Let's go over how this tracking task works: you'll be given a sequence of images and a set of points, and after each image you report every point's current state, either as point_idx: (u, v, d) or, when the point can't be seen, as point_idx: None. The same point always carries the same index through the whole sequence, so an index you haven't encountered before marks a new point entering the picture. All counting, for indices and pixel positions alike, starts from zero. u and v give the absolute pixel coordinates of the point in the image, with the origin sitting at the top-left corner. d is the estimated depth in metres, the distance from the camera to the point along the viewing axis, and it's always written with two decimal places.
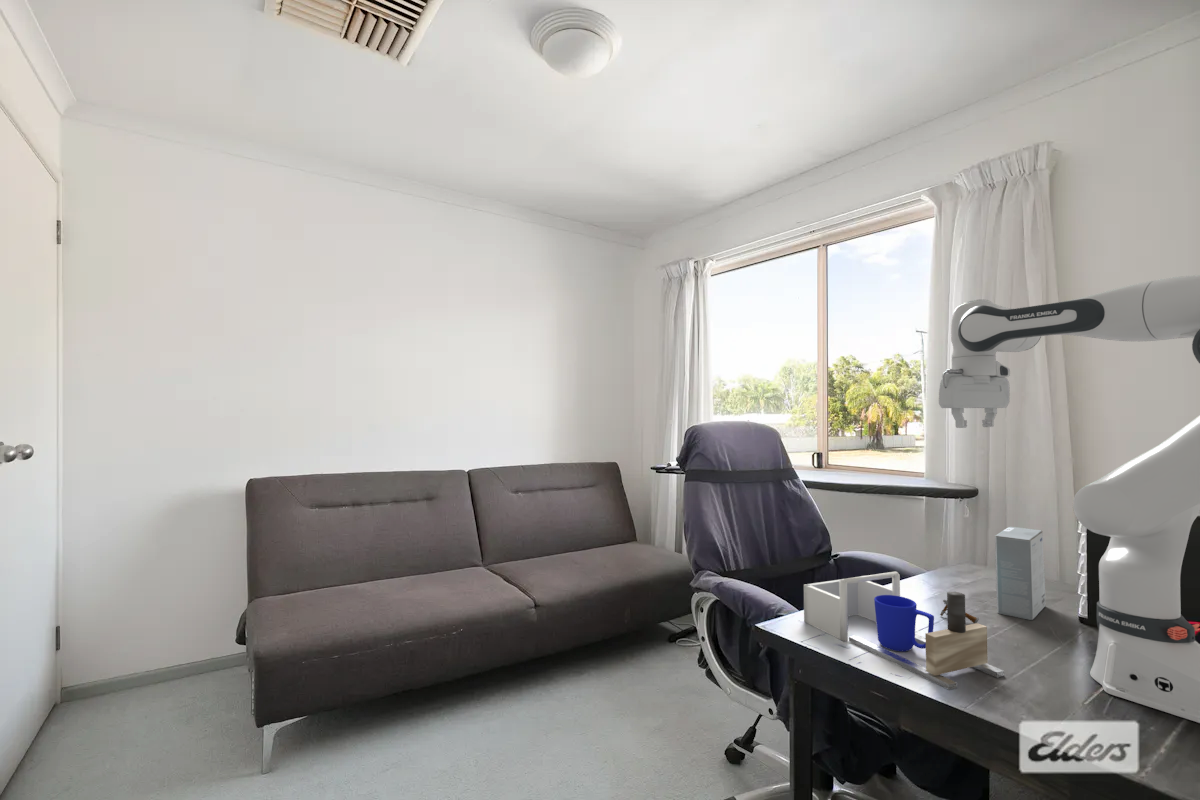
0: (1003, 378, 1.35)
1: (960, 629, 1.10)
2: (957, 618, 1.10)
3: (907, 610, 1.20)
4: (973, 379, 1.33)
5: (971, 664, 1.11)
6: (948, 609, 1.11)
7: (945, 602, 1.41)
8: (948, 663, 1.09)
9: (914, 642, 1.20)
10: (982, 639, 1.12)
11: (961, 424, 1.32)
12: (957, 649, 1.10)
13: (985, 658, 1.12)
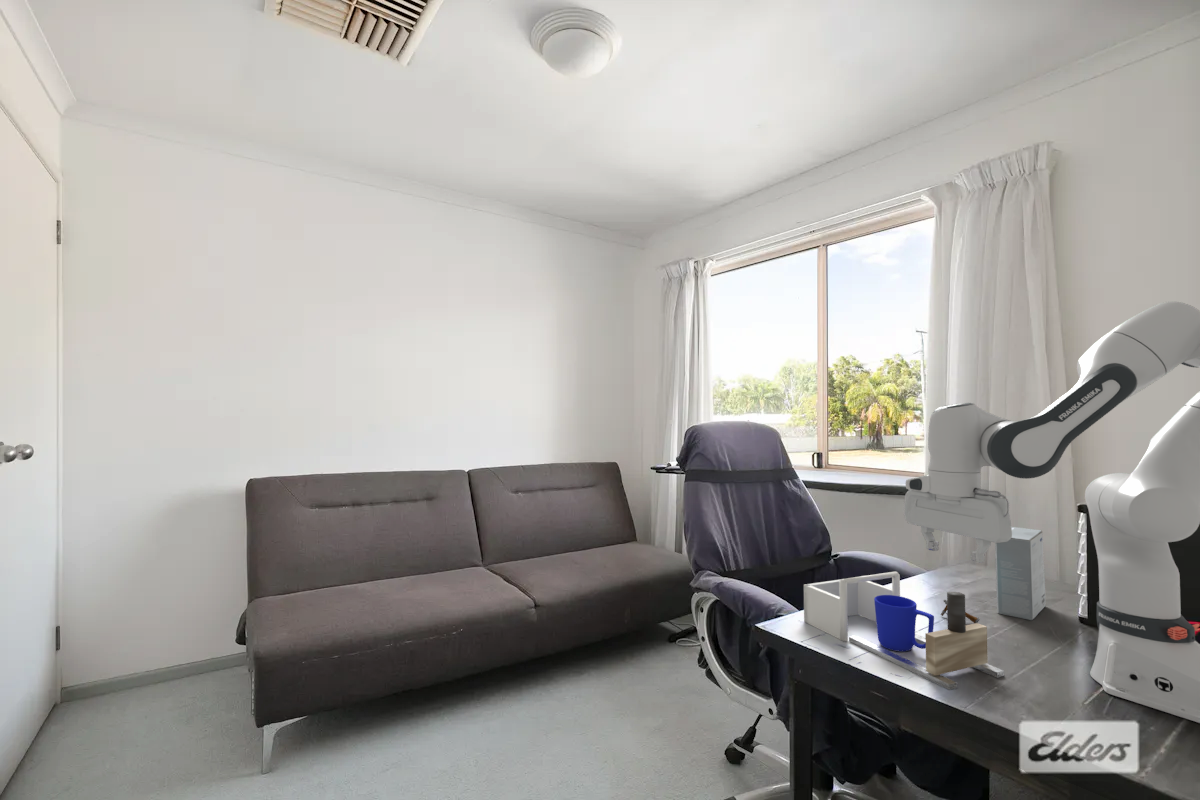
0: None
1: (960, 629, 1.10)
2: (957, 618, 1.10)
3: (907, 610, 1.20)
4: None
5: (971, 664, 1.11)
6: (948, 609, 1.11)
7: (946, 602, 1.41)
8: (948, 663, 1.09)
9: (914, 642, 1.20)
10: (982, 639, 1.12)
11: (983, 558, 1.07)
12: (957, 649, 1.10)
13: (985, 658, 1.12)
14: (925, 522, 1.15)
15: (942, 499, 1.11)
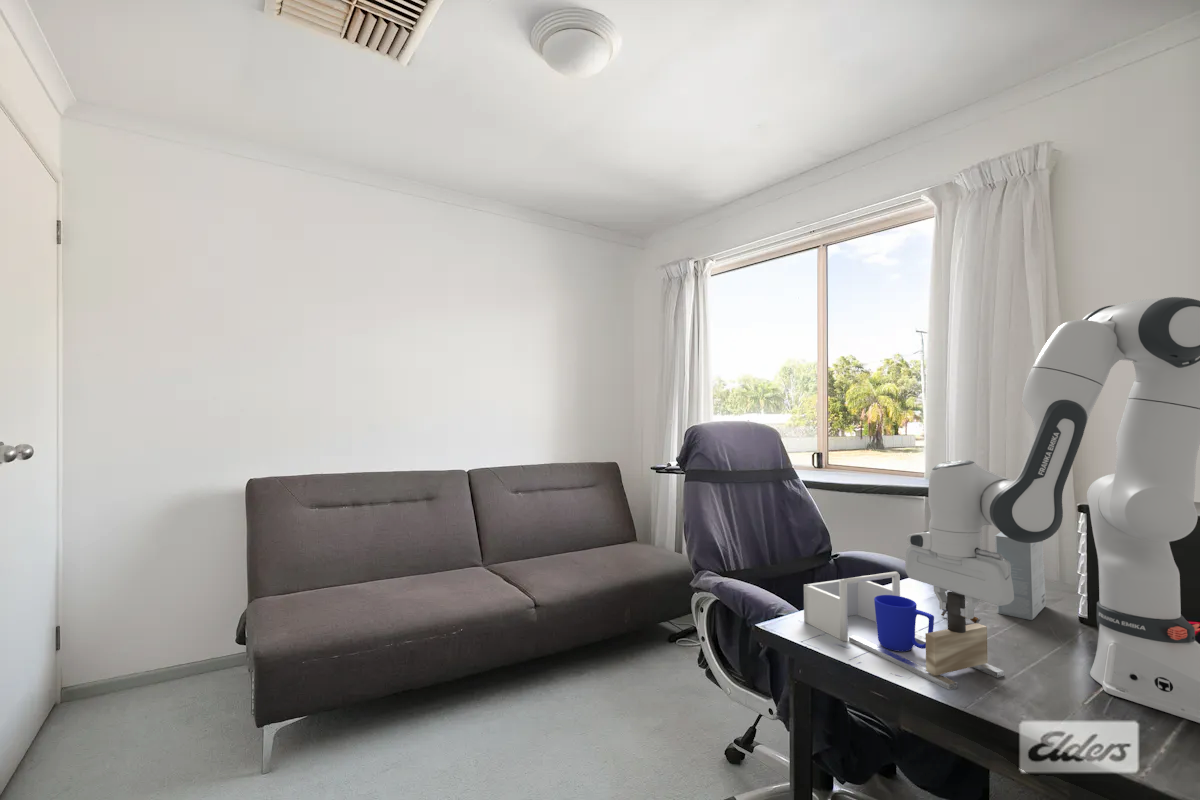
0: None
1: (960, 629, 1.10)
2: (957, 618, 1.10)
3: (907, 610, 1.20)
4: None
5: (971, 664, 1.11)
6: (948, 609, 1.11)
7: None
8: (948, 663, 1.09)
9: (914, 642, 1.20)
10: (982, 639, 1.12)
11: (973, 614, 1.09)
12: (957, 649, 1.10)
13: (985, 658, 1.12)
14: (927, 579, 1.15)
15: (943, 558, 1.10)
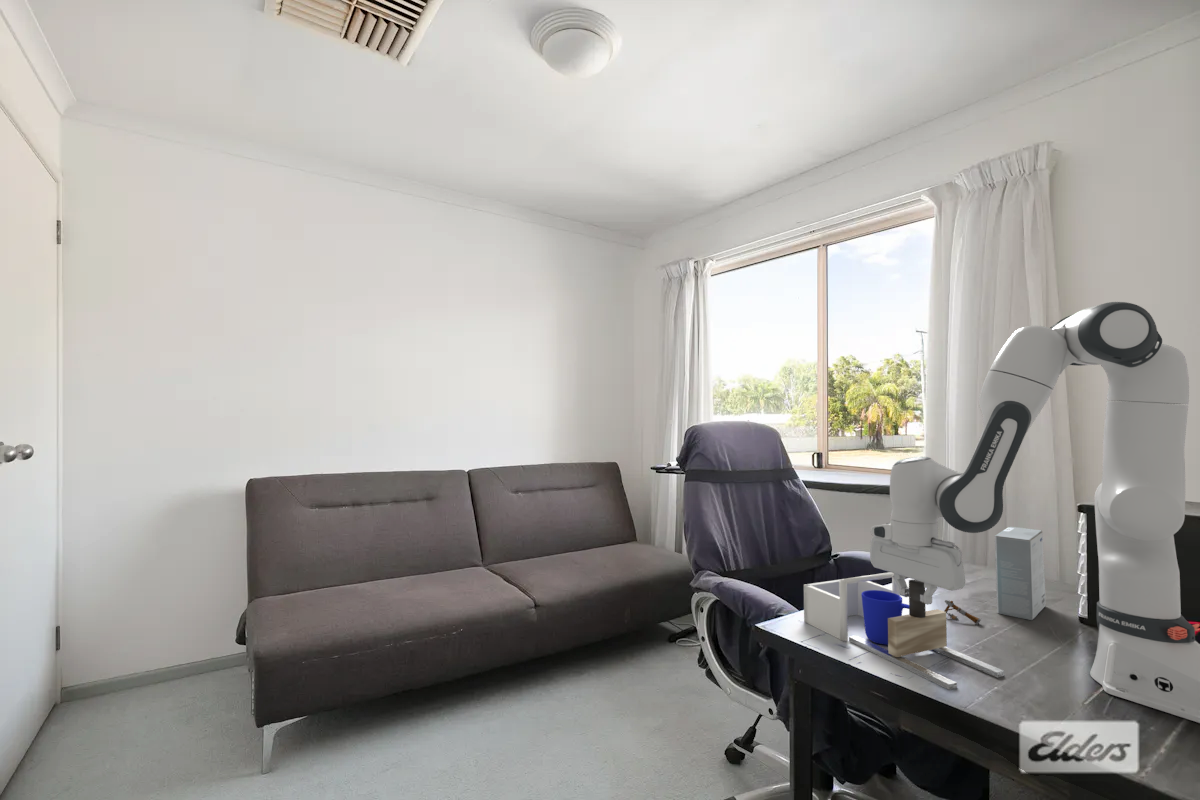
0: None
1: (920, 614, 1.18)
2: (917, 604, 1.18)
3: (894, 604, 1.23)
4: None
5: (931, 647, 1.19)
6: (909, 596, 1.19)
7: (947, 602, 1.41)
8: (909, 646, 1.17)
9: None
10: (941, 623, 1.20)
11: (931, 600, 1.17)
12: (917, 633, 1.18)
13: (944, 642, 1.21)
14: (889, 567, 1.24)
15: (903, 547, 1.19)
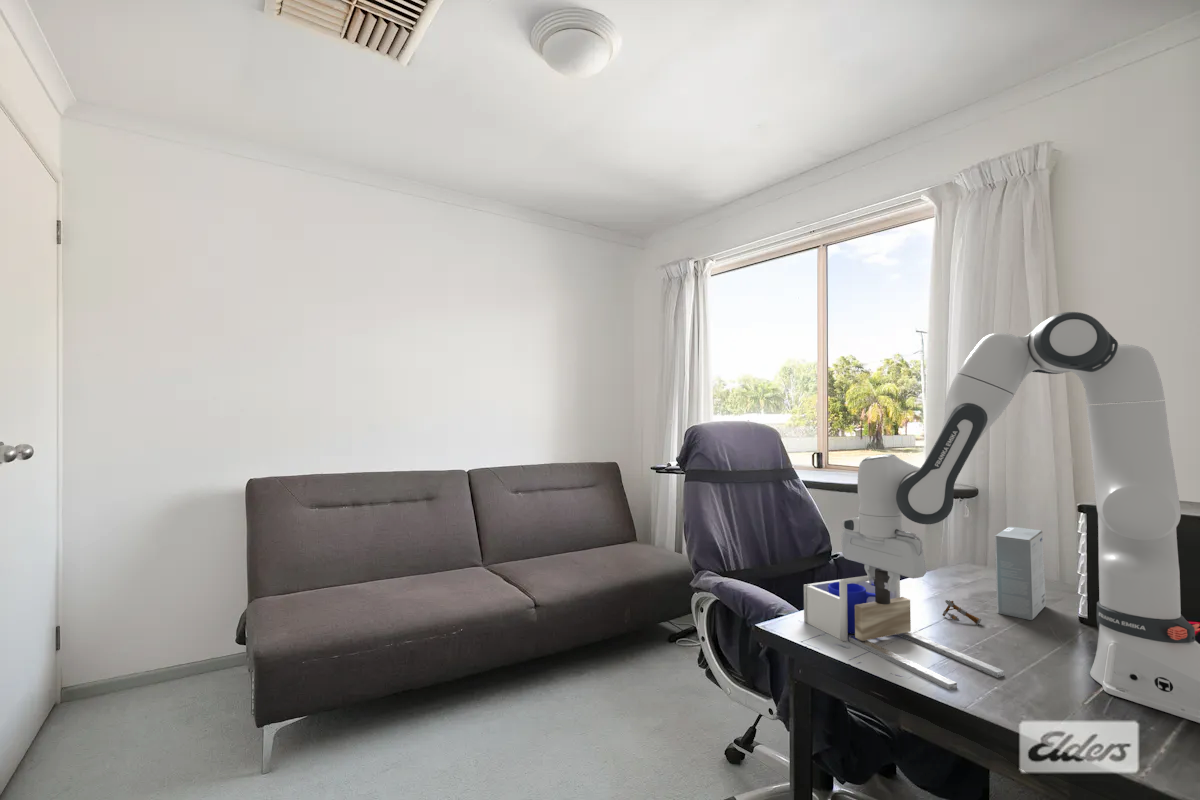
0: None
1: (885, 601, 1.26)
2: (882, 592, 1.26)
3: (862, 594, 1.30)
4: None
5: (896, 631, 1.27)
6: (875, 584, 1.28)
7: (947, 602, 1.41)
8: (874, 630, 1.25)
9: None
10: (905, 610, 1.29)
11: (895, 587, 1.25)
12: (882, 618, 1.26)
13: (908, 627, 1.29)
14: (858, 558, 1.32)
15: (869, 539, 1.27)
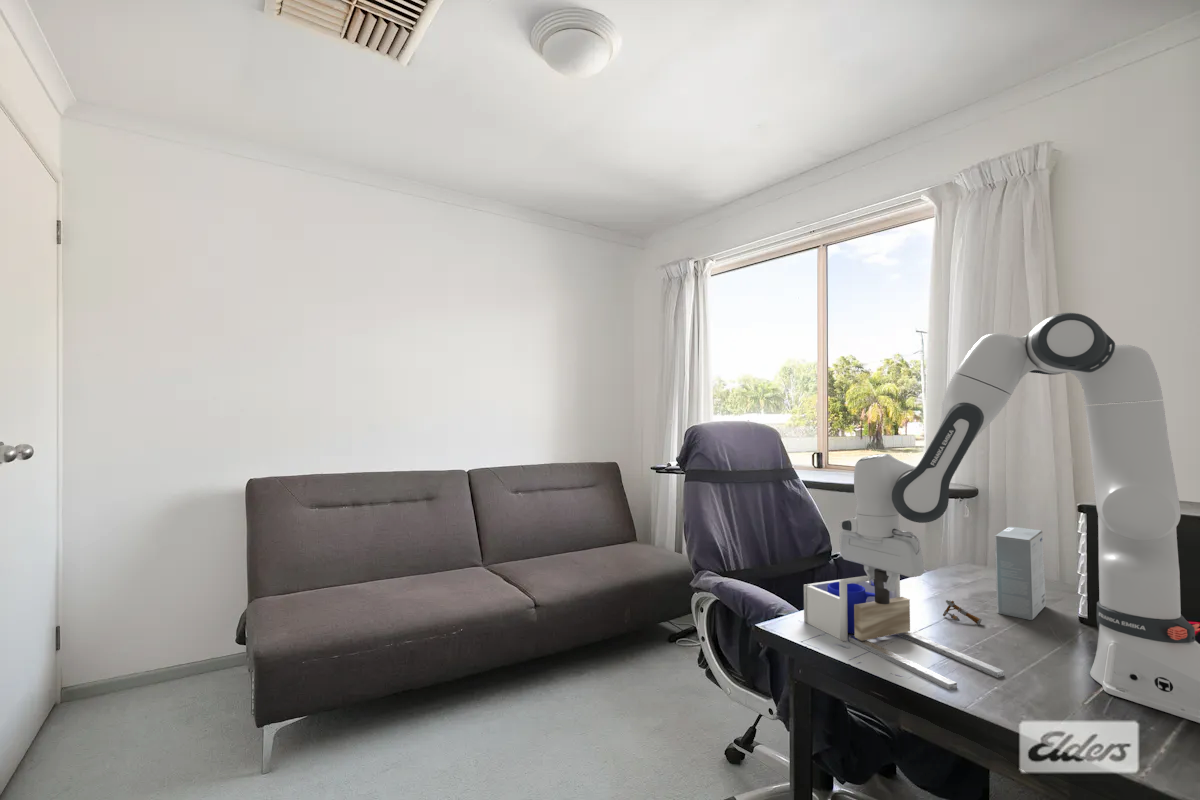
0: None
1: (884, 601, 1.26)
2: (882, 591, 1.26)
3: (861, 594, 1.30)
4: None
5: (895, 631, 1.28)
6: (875, 584, 1.28)
7: (948, 602, 1.41)
8: (873, 630, 1.25)
9: None
10: (905, 610, 1.29)
11: (894, 587, 1.25)
12: (882, 618, 1.26)
13: (907, 627, 1.29)
14: (856, 558, 1.32)
15: (867, 539, 1.27)
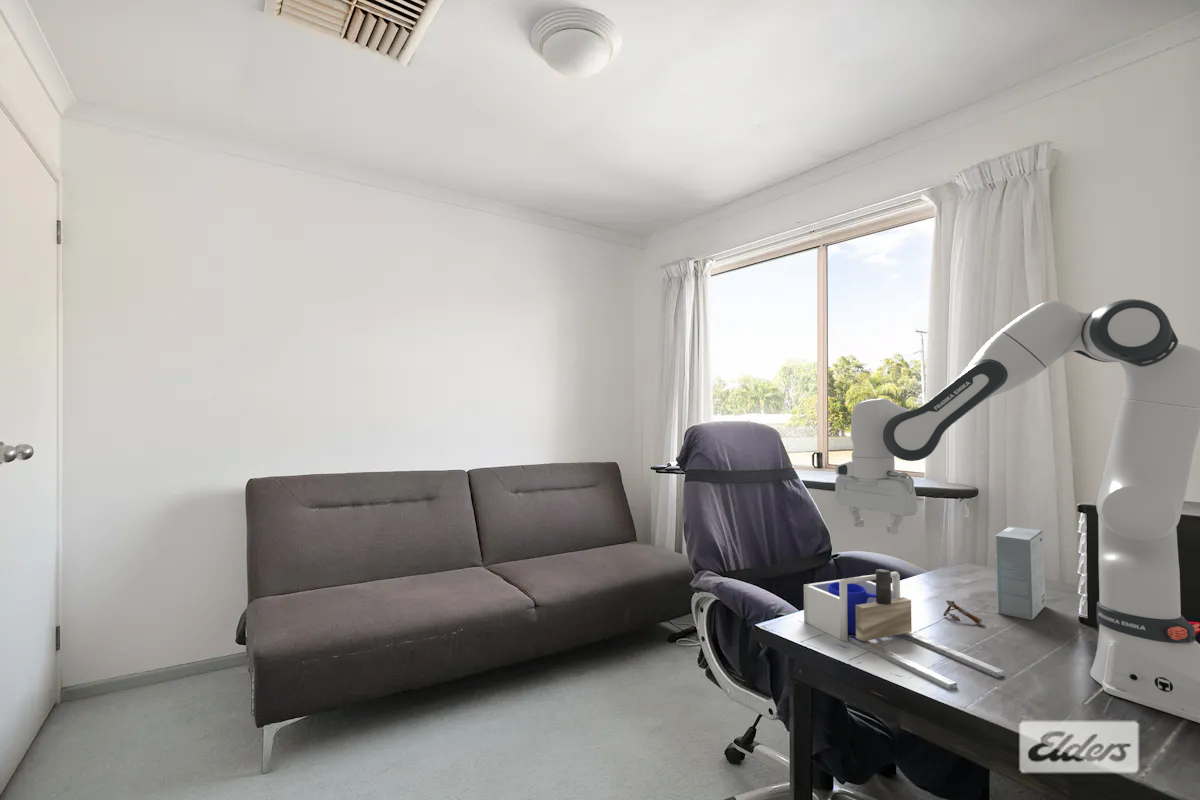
0: None
1: (886, 601, 1.26)
2: (883, 592, 1.26)
3: (862, 594, 1.30)
4: None
5: (896, 632, 1.27)
6: (876, 584, 1.27)
7: (948, 602, 1.41)
8: (875, 631, 1.25)
9: None
10: (906, 610, 1.28)
11: (897, 530, 1.25)
12: (883, 619, 1.26)
13: (909, 627, 1.29)
14: (851, 502, 1.34)
15: (862, 481, 1.29)
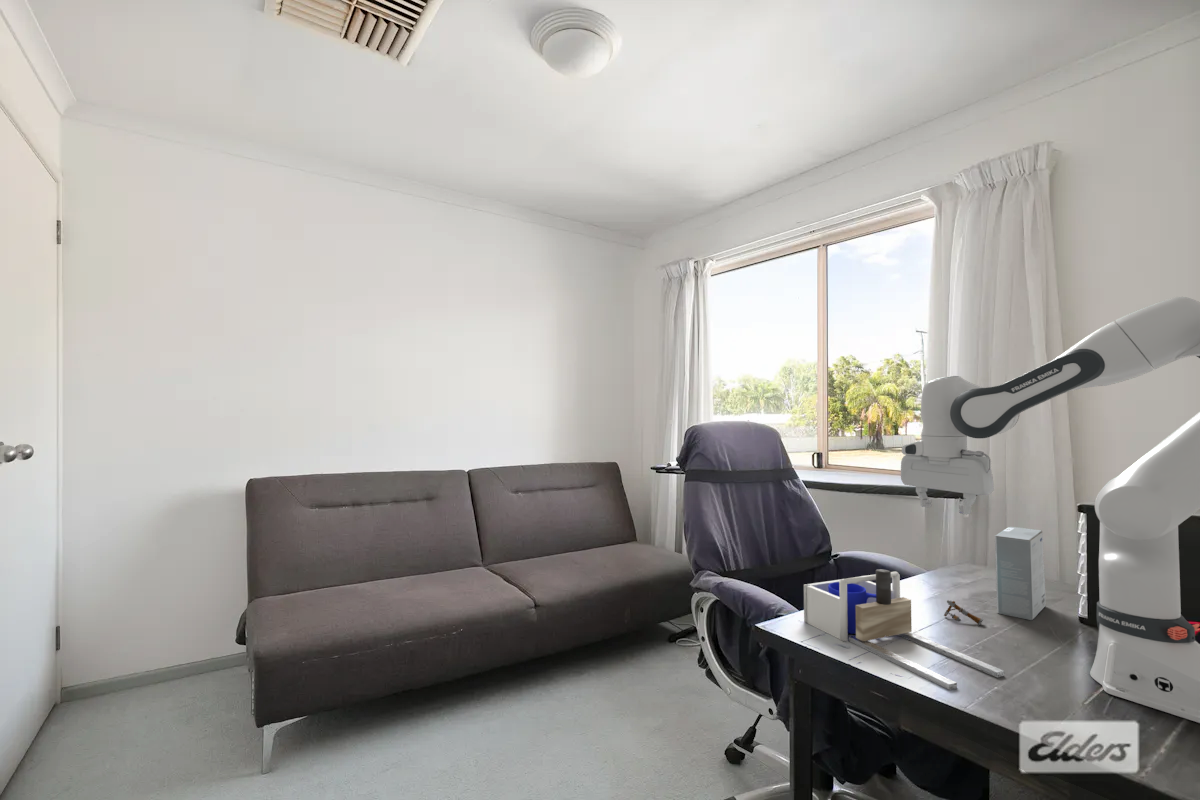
0: None
1: (886, 601, 1.26)
2: (883, 592, 1.26)
3: (862, 594, 1.30)
4: None
5: (896, 632, 1.27)
6: (876, 584, 1.27)
7: (949, 603, 1.41)
8: (875, 631, 1.25)
9: None
10: (906, 610, 1.28)
11: (970, 510, 1.23)
12: (883, 619, 1.26)
13: (909, 627, 1.29)
14: (919, 482, 1.31)
15: (933, 460, 1.27)
